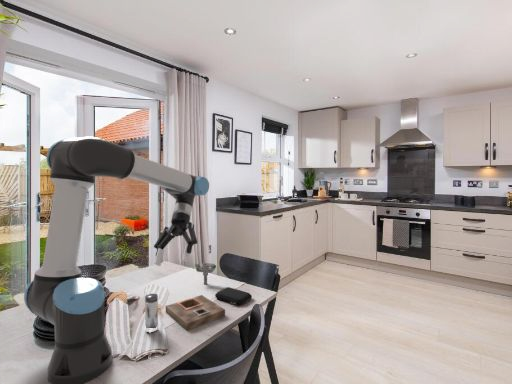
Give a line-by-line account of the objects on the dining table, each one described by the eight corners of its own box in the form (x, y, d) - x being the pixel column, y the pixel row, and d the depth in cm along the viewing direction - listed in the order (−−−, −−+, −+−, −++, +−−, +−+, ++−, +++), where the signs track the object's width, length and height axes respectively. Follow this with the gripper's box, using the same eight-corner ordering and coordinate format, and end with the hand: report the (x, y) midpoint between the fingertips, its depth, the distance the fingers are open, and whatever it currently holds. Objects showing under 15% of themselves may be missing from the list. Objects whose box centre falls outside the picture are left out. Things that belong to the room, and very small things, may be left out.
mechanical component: (196, 281, 142) (196, 262, 142) (216, 283, 140) (216, 263, 140) (194, 284, 140) (194, 264, 139) (214, 286, 138) (214, 265, 137)
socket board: (186, 330, 98) (186, 322, 98) (165, 312, 111) (165, 305, 111) (225, 315, 109) (225, 308, 109) (201, 300, 122) (201, 294, 121)
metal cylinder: (148, 334, 95) (147, 299, 95) (143, 329, 98) (143, 295, 98) (159, 330, 98) (159, 296, 97) (155, 325, 101) (154, 292, 100)
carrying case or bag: (211, 300, 123) (239, 309, 115) (211, 293, 123) (239, 301, 115) (226, 291, 132) (253, 299, 124) (226, 285, 132) (253, 292, 124)
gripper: (210, 214, 122) (202, 263, 110) (164, 223, 131) (152, 269, 119) (200, 206, 116) (191, 256, 104) (153, 216, 126) (139, 262, 114)
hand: (170, 263), depth 112 cm, fingers open, 13 cm apart
